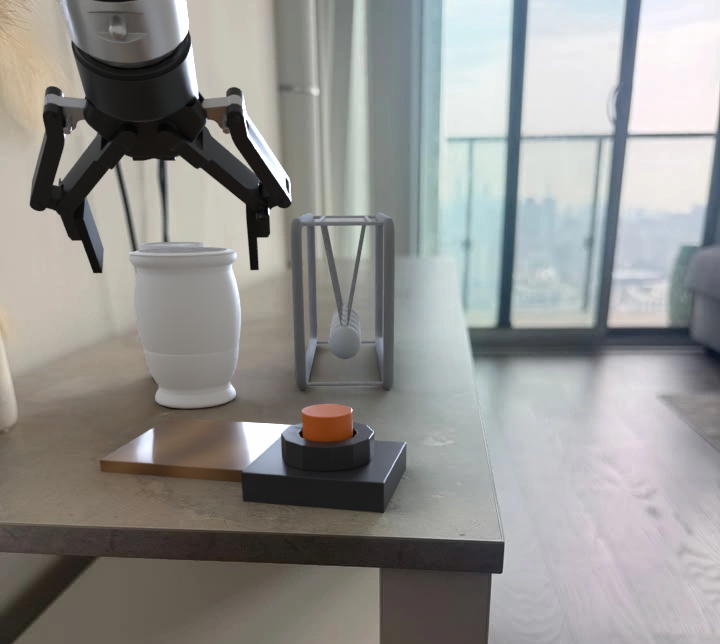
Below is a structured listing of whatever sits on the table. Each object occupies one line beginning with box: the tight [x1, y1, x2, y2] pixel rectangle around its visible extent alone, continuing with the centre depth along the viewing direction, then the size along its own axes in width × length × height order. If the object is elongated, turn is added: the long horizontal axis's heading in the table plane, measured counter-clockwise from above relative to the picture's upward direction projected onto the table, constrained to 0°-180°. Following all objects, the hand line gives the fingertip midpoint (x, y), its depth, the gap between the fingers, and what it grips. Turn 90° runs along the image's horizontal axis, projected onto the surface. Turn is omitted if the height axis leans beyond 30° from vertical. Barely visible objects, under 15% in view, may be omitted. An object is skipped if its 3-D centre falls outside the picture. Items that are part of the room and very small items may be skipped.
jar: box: [128, 246, 242, 410], centre depth 76 cm, size 11×10×15 cm
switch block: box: [241, 421, 407, 514], centre depth 54 cm, size 10×9×4 cm
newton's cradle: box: [290, 212, 396, 391], centre depth 91 cm, size 30×10×18 cm, turn 1°
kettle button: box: [301, 403, 354, 442], centre depth 53 cm, size 4×4×2 cm
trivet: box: [99, 417, 293, 483], centre depth 62 cm, size 12×12×1 cm
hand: (177, 260), depth 67 cm, fingers open, 13 cm apart
